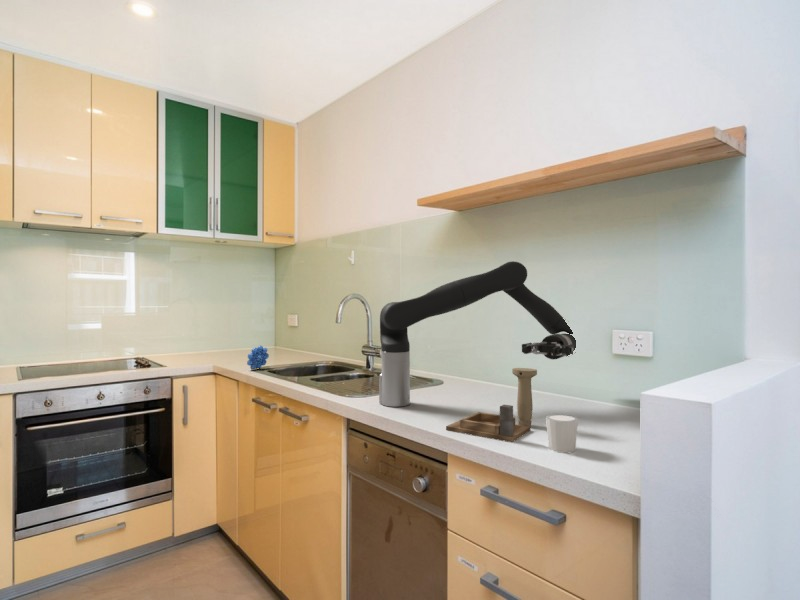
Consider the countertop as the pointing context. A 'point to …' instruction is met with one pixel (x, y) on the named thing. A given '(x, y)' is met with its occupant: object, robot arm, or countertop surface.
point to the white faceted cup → (562, 432)
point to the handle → (524, 394)
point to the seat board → (491, 425)
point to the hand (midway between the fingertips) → (539, 351)
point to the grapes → (257, 357)
